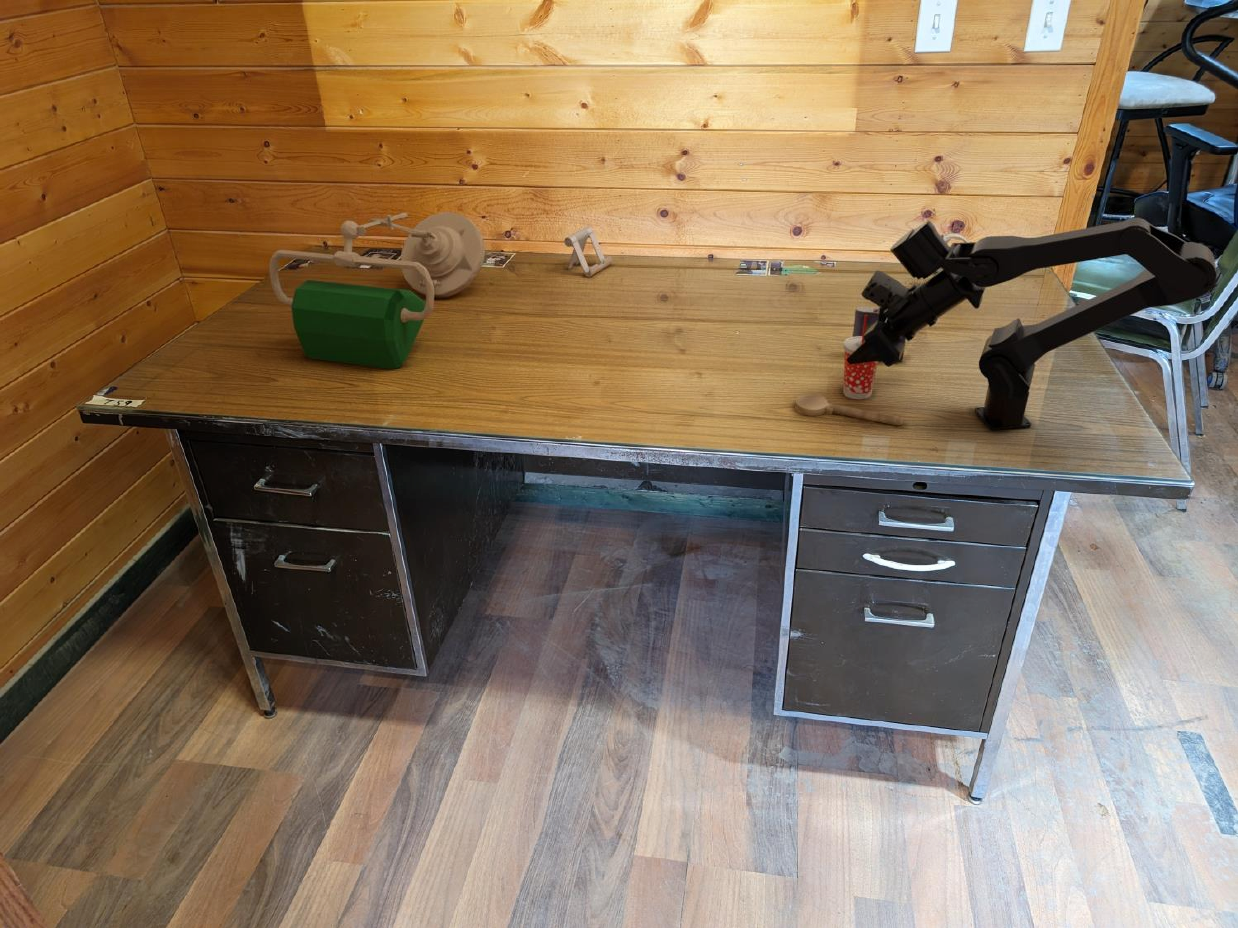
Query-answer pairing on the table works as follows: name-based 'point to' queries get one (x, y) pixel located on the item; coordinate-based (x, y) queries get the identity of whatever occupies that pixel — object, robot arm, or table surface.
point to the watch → (948, 238)
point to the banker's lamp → (382, 291)
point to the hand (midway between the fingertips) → (853, 353)
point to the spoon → (839, 410)
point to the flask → (868, 322)
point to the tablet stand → (578, 244)
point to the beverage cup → (858, 370)
